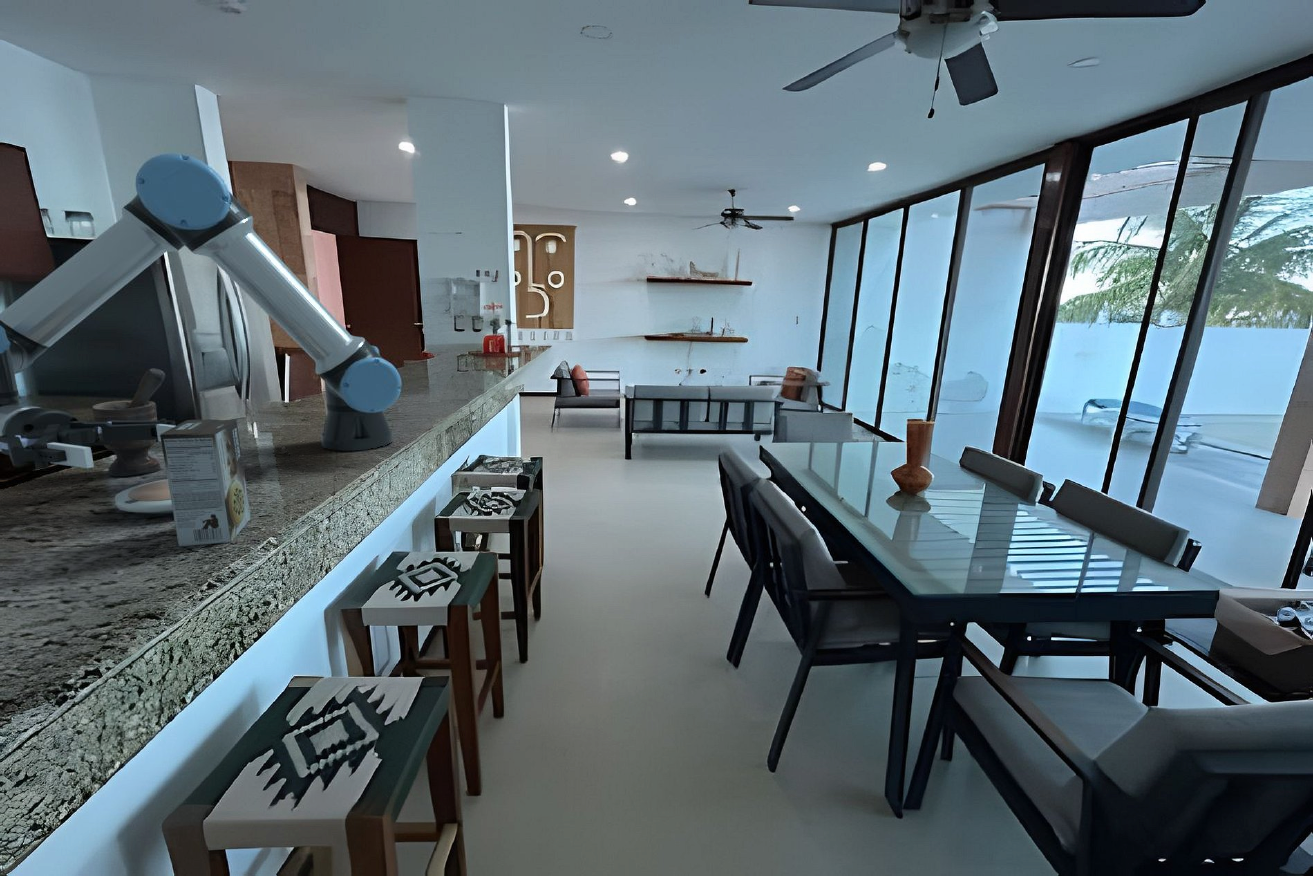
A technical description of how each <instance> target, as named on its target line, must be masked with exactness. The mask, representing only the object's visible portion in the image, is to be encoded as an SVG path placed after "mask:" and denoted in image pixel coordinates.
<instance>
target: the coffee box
mask: <svg viewBox="0 0 1313 876" xmlns="http://www.w3.org/2000/svg"><path fill="white" fill-rule="evenodd" d="M237 421H238V420H237V419H211V418H210V419H189V420H185V421H183V422H181V423H179V424H177V425H175V427H173V428H171V429H169V430H168V431H166V432H164V433H162V434H160V438H161V442H160V443H161V447H162V448H161V449H162V454H163V460H164V464H165V465H164V466H165V472H166V477H167V479H168V484H169V490H170V496H171V502H172V508H173V514H174V516H173V519H174V525H175V531H176V537H177V542H178V547H187V546H199V545H208V544H209V545H210V544H220V543H221V544H224V543H231V542H233V540H234V539H236V537H237V536H238V534H240V532H241V531H242V530H243V528H244V527H245V526H246V525H247V523H248V522H249V521H250V519H252V518H251V517H252V516H251V511H250V510H251V509H250V504H249V499H248V491H247V483H246V477H245V476H246V475H245V468H244V463H243V455H242V449H241V448H242V447H241V441H240V435H239V434H240V433H239V428H238V427H239V426H238V422H237Z"/></svg>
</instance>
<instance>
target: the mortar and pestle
mask: <svg viewBox="0 0 1313 876" xmlns="http://www.w3.org/2000/svg"><path fill="white" fill-rule="evenodd" d="M165 378H166V373H165V372H164V371H163V370H161V369H158V368H154V367H153V368H150V369H148V370H146V371H145V373H144V374H143V376H142V378H141V380H140V383H139V385H138V388H137V391H136V393H134V396H133V398H132V400H113V401H107V402H102V403H97V404H94V405H92V409H91V411H92V415H93V419H94V422H104V420H107V419H111V420H121V421H158V417H157V416H158V414H157V413H158V412H157V405H156V402H154V401H151V400H150V398H151V397H152V396H153V394H155V393H156V391H157V390H158V389H159V388H160V387H161V385H162V383H163V381H164V380H165ZM99 434H100V435H99V438H98V439H99V440H103V435H102V433H99ZM156 442H157V440H135V441H113V442H112V443H110V444H108V445H103V447H104V448H106V449H107V450H108V451H111V452H112V453H114V454H115V456H116V458H115V459H114V461H113V462H112V463H110V464H109V467H108V470H107V471H108V475H109V477H110V476H111V477H130V476H135V475H136V476H137V475H143V474H150V473H155V472H157V471H160V470H161V468H162V467H161V464H160V462H159V461H158V460H157V459H156V458H154V457H152V456H150V454H149V450H150V448H151V447H153V446H154V445H155V443H156Z"/></svg>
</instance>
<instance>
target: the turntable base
mask: <svg viewBox="0 0 1313 876" xmlns="http://www.w3.org/2000/svg"><path fill="white" fill-rule="evenodd" d="M135 515H136V516H138V517H141V518H148V519H159V518H160V519H161V518H163V519H164V518H171V517H173V518H174V514H173V510H169V511H159V512H135Z"/></svg>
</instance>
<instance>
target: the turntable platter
mask: <svg viewBox="0 0 1313 876" xmlns="http://www.w3.org/2000/svg"><path fill="white" fill-rule="evenodd" d="M114 503H115V507H116V508H117V509H118V510H120V511H124V512H128V513H129V512H130V513H136V512H159V511H169V510H173V508H172V502H171V496H170V490H169V484H168V479H166V478H165V479H160V480H155V481H151V482H146V483H145V482H144V483H141V484H139V485H134V486H132V487H129V488H127V489H124V490H122V491H120V492H119V493H117V494H116V495H115V497H114Z"/></svg>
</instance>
